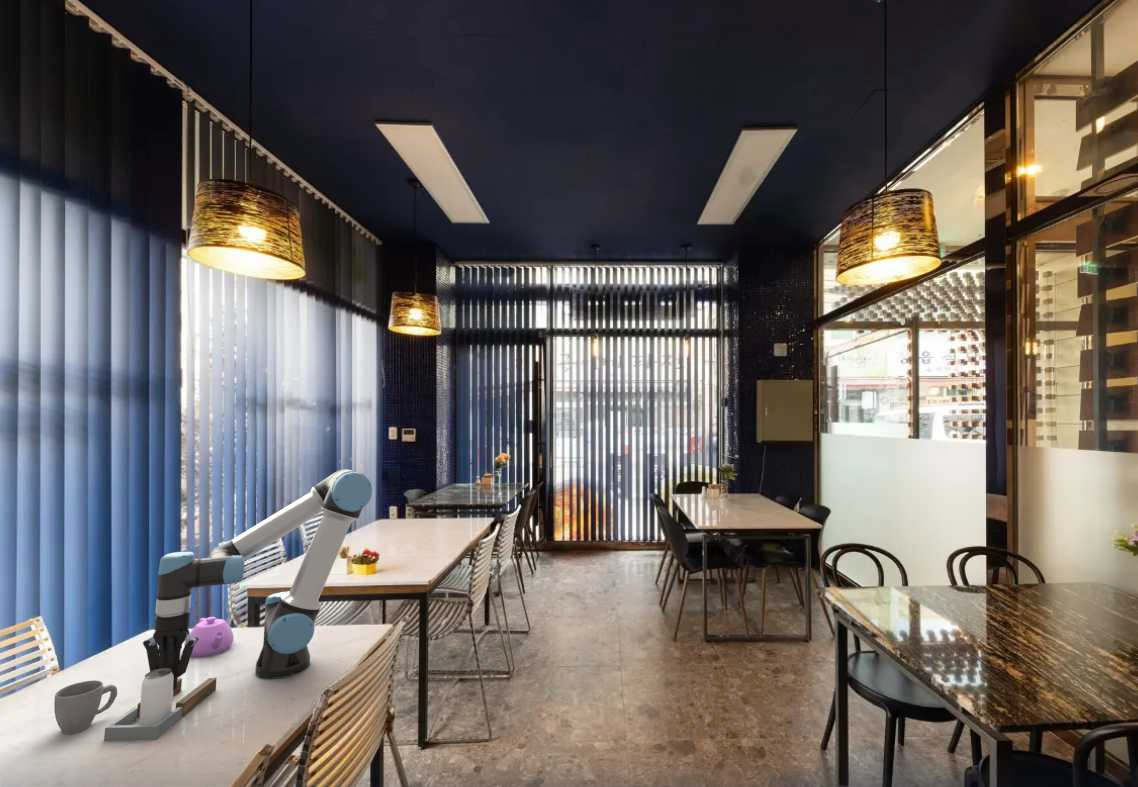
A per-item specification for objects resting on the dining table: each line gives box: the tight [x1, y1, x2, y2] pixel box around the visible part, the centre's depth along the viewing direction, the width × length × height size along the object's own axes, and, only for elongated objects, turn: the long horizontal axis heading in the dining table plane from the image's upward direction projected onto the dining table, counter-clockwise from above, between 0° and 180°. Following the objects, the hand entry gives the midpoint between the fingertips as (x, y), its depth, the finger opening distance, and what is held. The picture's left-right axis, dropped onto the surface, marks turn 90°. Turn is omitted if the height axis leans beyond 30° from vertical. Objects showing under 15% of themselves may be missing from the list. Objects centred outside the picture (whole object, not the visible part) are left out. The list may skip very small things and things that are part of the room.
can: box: [138, 668, 174, 725], centre depth 134 cm, size 6×6×12 cm
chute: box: [136, 677, 217, 719], centre depth 142 cm, size 12×14×4 cm
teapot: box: [183, 616, 234, 658], centre depth 177 cm, size 14×20×11 cm
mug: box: [53, 680, 118, 736], centre depth 132 cm, size 12×9×10 cm
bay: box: [103, 707, 183, 742], centre depth 130 cm, size 12×9×3 cm
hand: (166, 703), depth 138 cm, fingers closed
